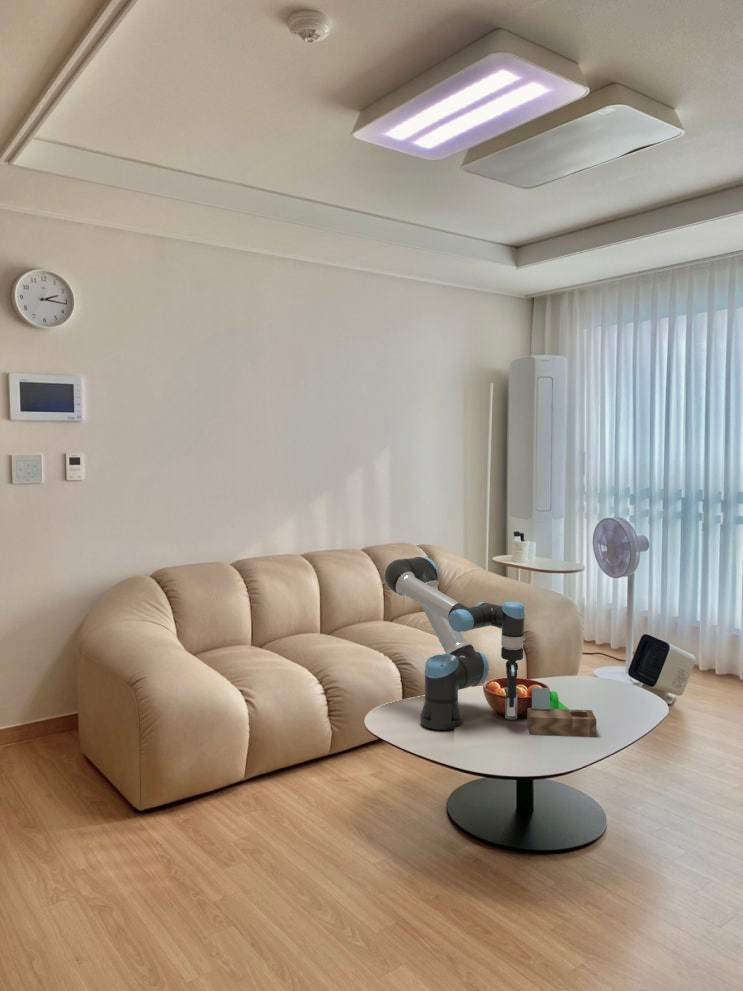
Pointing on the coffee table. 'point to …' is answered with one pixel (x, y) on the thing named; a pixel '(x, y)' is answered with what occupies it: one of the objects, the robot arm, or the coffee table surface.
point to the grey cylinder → (515, 705)
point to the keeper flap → (540, 699)
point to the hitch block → (561, 722)
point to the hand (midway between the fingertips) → (510, 713)
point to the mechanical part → (555, 701)
